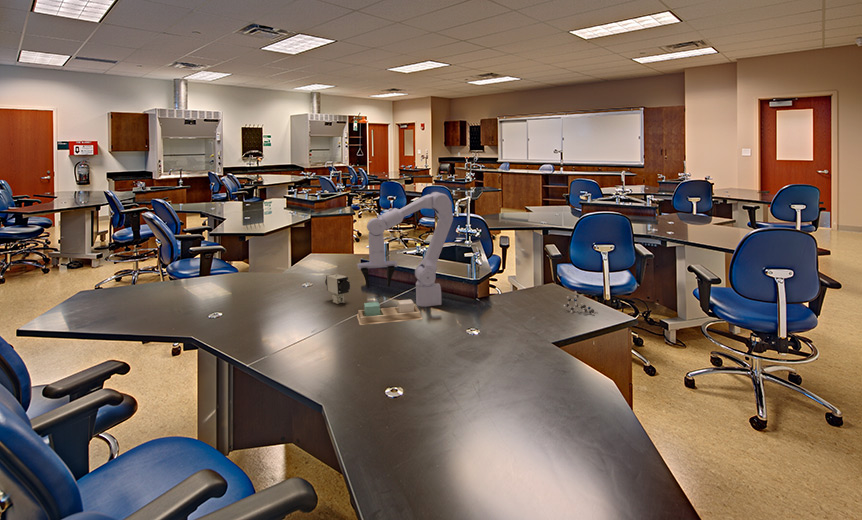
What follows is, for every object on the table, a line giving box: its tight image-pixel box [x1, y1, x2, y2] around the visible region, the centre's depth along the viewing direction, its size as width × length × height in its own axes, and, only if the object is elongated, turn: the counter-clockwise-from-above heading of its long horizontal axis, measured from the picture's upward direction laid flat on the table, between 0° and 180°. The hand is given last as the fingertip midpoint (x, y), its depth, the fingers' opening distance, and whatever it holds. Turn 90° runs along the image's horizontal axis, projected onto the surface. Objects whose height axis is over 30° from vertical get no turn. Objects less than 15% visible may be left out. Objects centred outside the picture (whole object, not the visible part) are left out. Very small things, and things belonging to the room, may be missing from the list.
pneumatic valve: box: [324, 273, 351, 305], centre depth 200 cm, size 6×12×12 cm, turn 41°
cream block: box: [396, 299, 415, 314], centre depth 179 cm, size 5×5×5 cm
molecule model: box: [563, 290, 598, 316], centre depth 181 cm, size 6×12×8 cm, turn 70°
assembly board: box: [356, 304, 424, 326], centre depth 178 cm, size 22×12×3 cm, turn 103°
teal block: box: [363, 301, 381, 317], centre depth 176 cm, size 5×5×5 cm
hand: (378, 286), depth 187 cm, fingers open, 7 cm apart
